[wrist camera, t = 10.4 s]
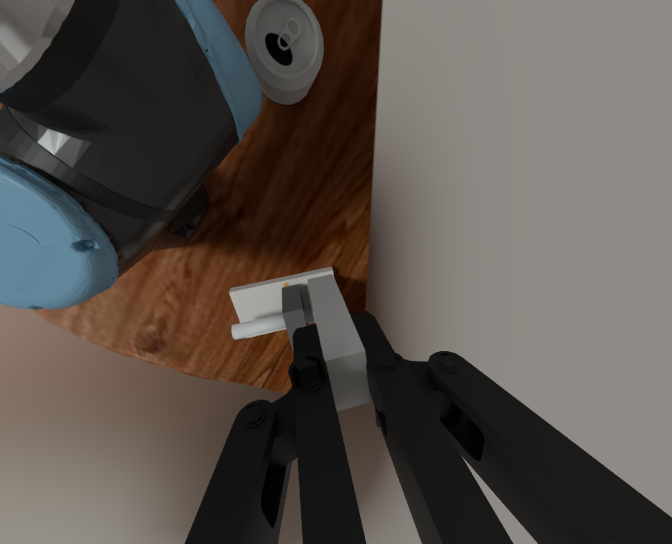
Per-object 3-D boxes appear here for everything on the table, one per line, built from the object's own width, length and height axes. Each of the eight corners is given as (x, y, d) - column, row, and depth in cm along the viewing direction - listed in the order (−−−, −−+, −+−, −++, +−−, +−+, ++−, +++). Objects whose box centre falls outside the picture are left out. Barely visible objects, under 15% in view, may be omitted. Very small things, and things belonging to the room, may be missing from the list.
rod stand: (247, 333, 50) (239, 375, 41) (230, 288, 45) (217, 323, 36) (338, 311, 52) (351, 347, 43) (331, 266, 47) (344, 295, 38)
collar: (291, 324, 49) (293, 354, 41) (281, 287, 45) (282, 313, 38) (307, 320, 49) (312, 350, 42) (298, 283, 45) (302, 308, 38)
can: (242, 71, 34) (224, 35, 23) (278, 19, 32) (278, -46, 21) (288, 118, 37) (291, 106, 26) (323, 73, 35) (343, 39, 25)
